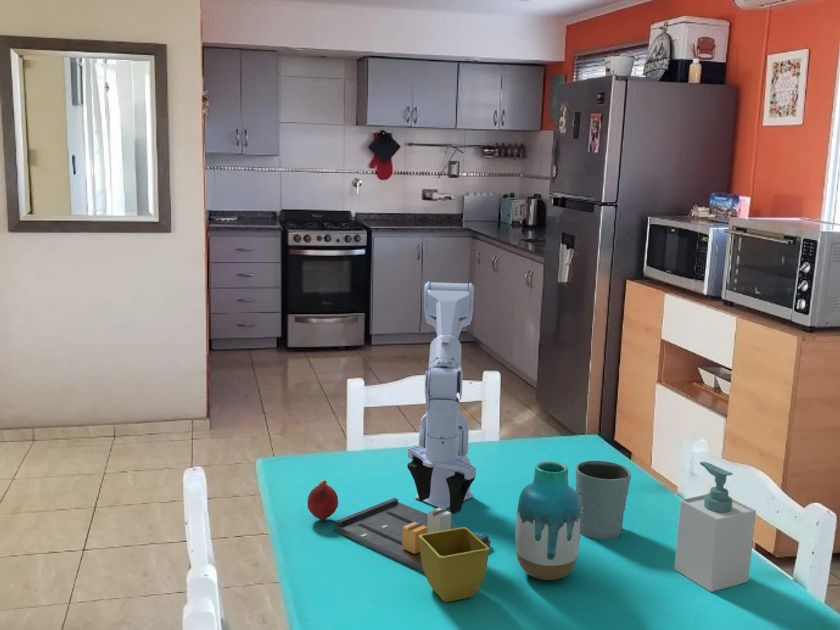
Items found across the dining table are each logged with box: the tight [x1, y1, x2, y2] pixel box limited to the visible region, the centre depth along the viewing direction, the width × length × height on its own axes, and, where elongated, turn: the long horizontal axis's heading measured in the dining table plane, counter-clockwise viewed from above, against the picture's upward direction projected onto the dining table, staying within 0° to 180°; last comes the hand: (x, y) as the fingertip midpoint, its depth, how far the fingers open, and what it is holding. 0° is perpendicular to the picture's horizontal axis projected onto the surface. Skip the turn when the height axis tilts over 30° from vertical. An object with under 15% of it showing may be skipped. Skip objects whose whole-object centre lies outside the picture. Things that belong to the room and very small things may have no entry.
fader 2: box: [427, 507, 452, 533], centre depth 157 cm, size 3×3×4 cm
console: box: [333, 497, 491, 575], centre depth 158 cm, size 16×24×2 cm, turn 47°
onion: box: [307, 479, 339, 521], centre depth 164 cm, size 6×6×8 cm
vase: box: [515, 461, 581, 581], centre depth 145 cm, size 11×11×19 cm
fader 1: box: [402, 522, 427, 554], centre depth 151 cm, size 3×3×4 cm
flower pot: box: [419, 526, 490, 603], centre depth 139 cm, size 9×9×9 cm
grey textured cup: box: [575, 460, 632, 541], centre depth 163 cm, size 10×10×12 cm
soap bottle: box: [673, 461, 757, 593], centre depth 146 cm, size 9×9×19 cm
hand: (439, 505), depth 157 cm, fingers open, 7 cm apart
